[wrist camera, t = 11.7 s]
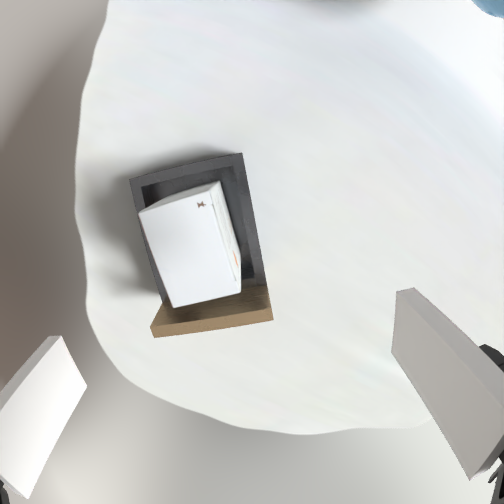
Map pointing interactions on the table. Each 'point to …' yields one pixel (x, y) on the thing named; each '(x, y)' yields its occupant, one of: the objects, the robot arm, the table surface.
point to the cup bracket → (241, 212)
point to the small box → (194, 244)
